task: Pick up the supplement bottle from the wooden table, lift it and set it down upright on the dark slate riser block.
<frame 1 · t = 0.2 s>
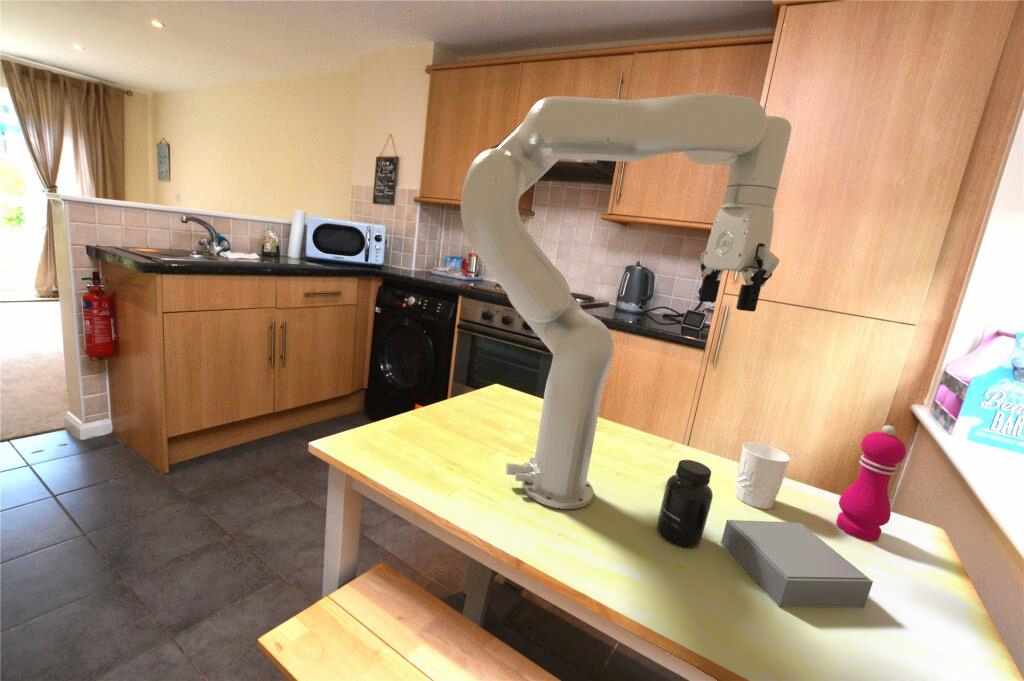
hand: (725, 305, 78), 36 cm above the table, tool pointing down, fingers open, 9 cm apart
supplement bottle: (678, 536, 73), on the table
pepper mill: (856, 531, 81), on the table
slate riser: (787, 572, 67), on the table
white cup: (753, 500, 88), on the table
blueberries: (670, 493, 87), on the table
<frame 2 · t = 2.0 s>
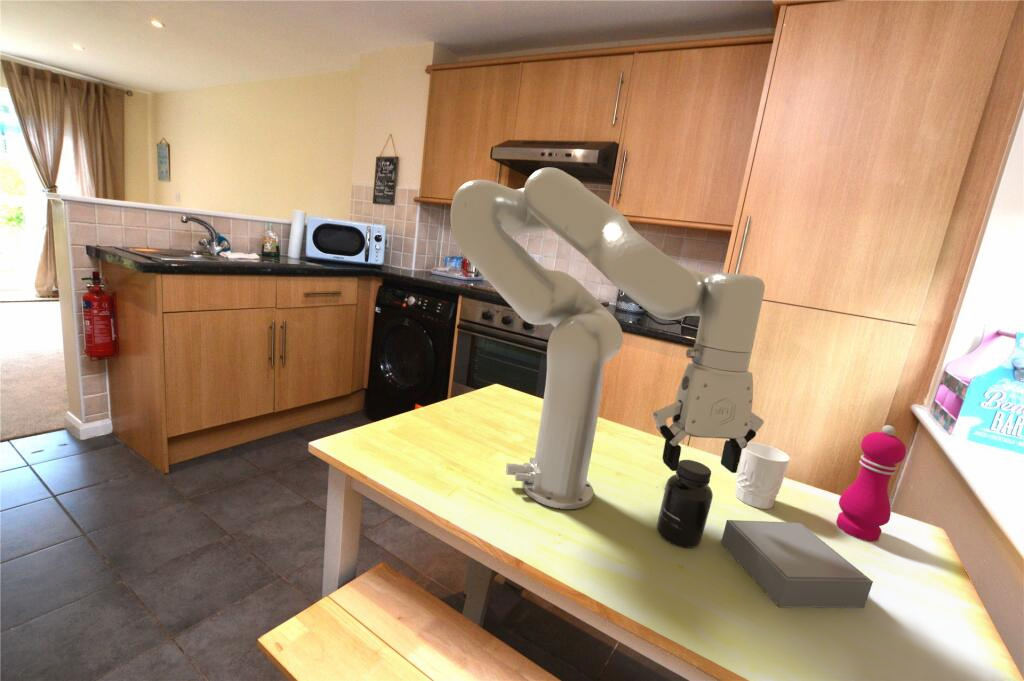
hand: (699, 467, 70), 12 cm above the table, tool pointing down, fingers open, 9 cm apart
nothing on the table moved.
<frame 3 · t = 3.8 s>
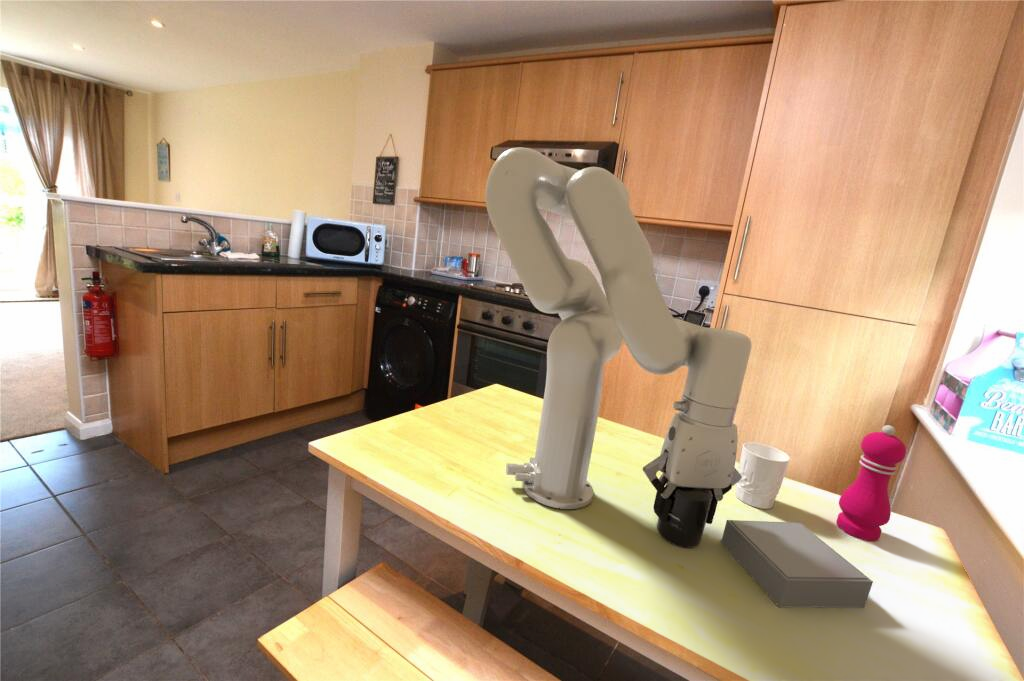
hand: (682, 517, 72), 3 cm above the table, tool pointing down, fingers closed on supplement bottle, 6 cm apart
supplement bottle: (678, 536, 73), on the table, touching gripper
everything else where it was.
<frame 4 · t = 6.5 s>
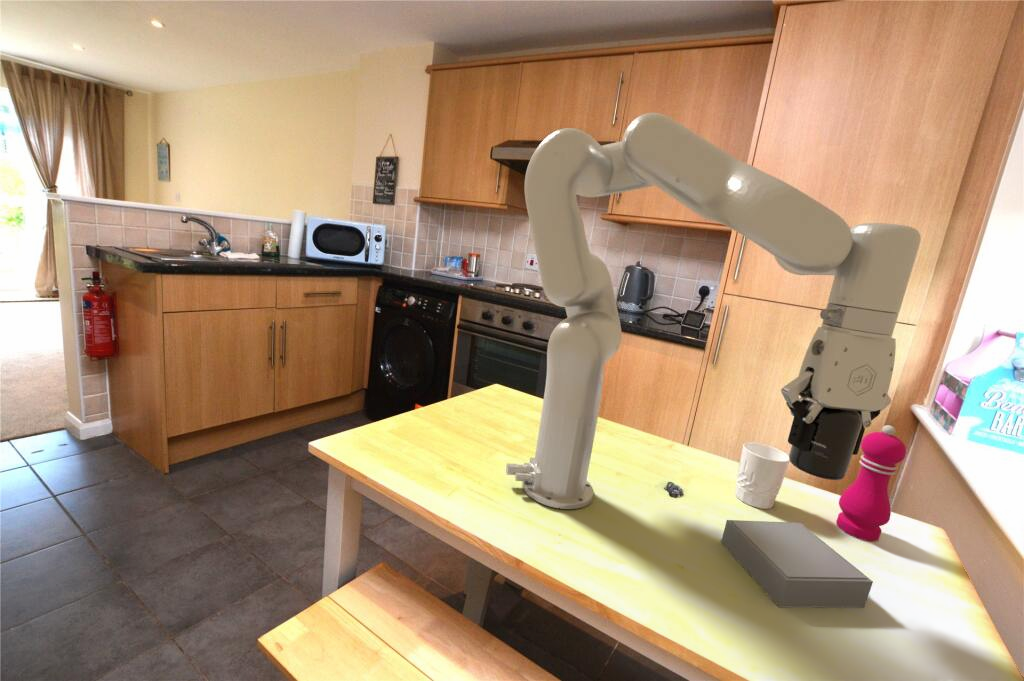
hand: (821, 447, 63), 20 cm above the table, tool pointing down, fingers closed on supplement bottle, 6 cm apart
supplement bottle: (815, 470, 64), point 16 cm above the table, touching gripper
everything else where it was.
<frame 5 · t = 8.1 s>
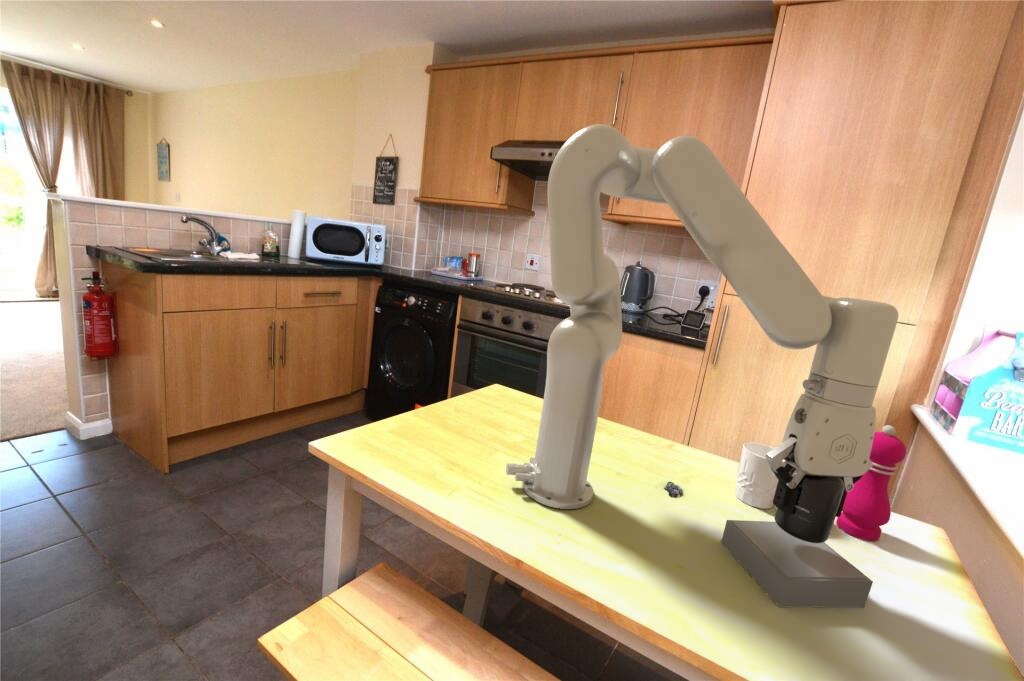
hand: (805, 509, 65), 10 cm above the table, tool pointing down, fingers closed on supplement bottle, 6 cm apart
supplement bottle: (799, 531, 66), point 7 cm above the table, touching gripper
everything else where it was.
when the fingers open (9 cm above the table, at t = 9.4 s): supplement bottle drops 1 cm, resting on slate riser.
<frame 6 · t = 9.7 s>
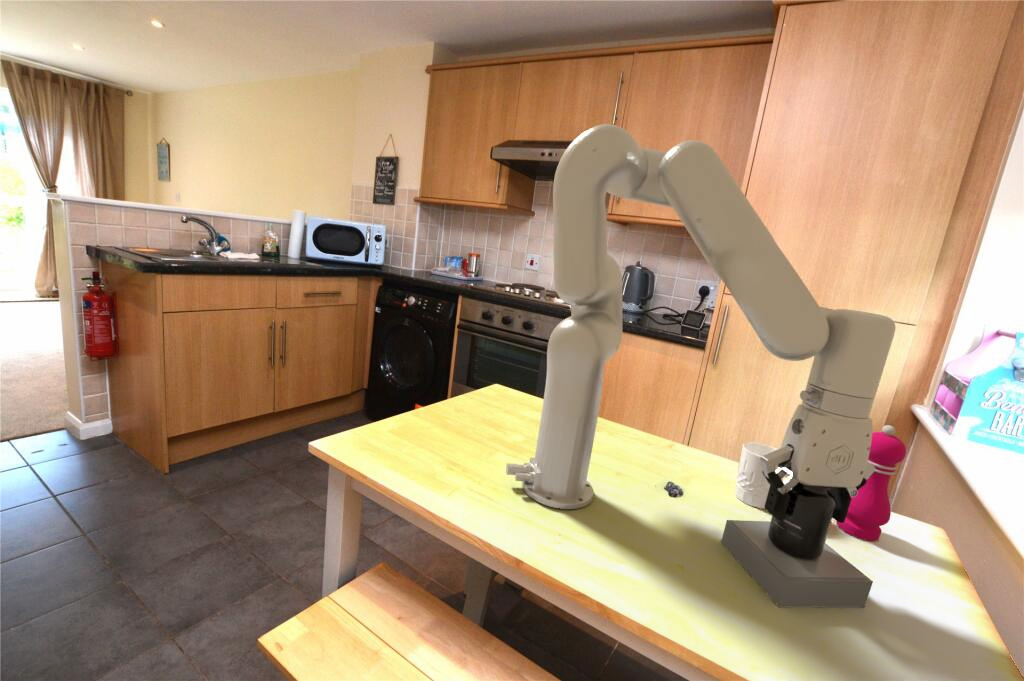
hand: (803, 515, 65), 9 cm above the table, tool pointing down, fingers open, 9 cm apart
supplement bottle: (793, 547, 66), point 4 cm above the table, touching slate riser
everything else where it was.
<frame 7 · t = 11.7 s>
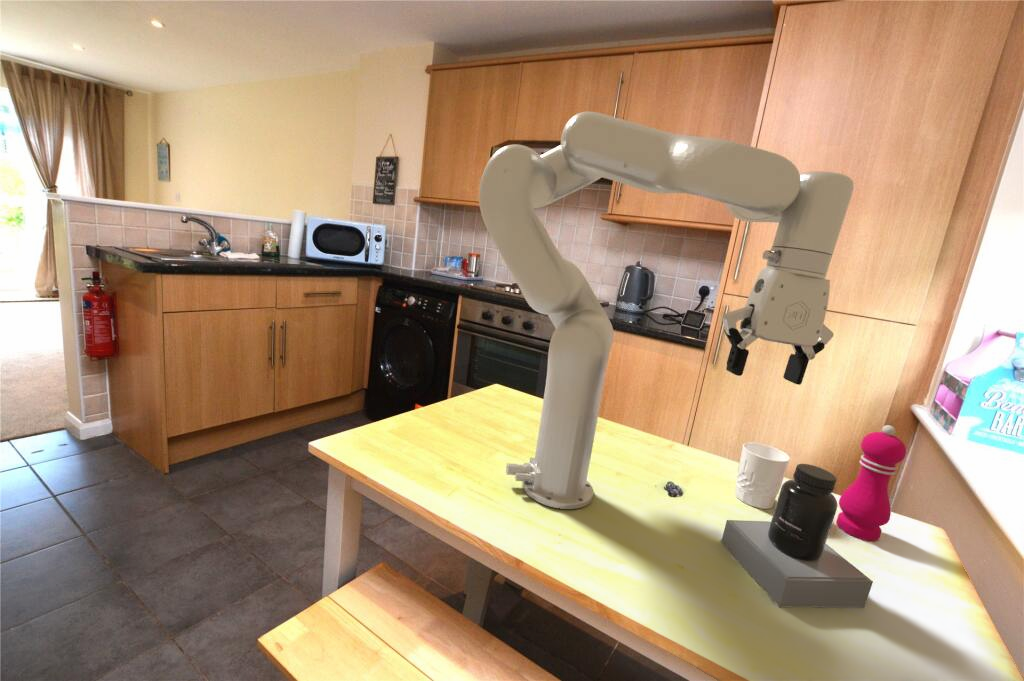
hand: (762, 377, 69), 27 cm above the table, tool pointing down, fingers open, 9 cm apart
nothing on the table moved.
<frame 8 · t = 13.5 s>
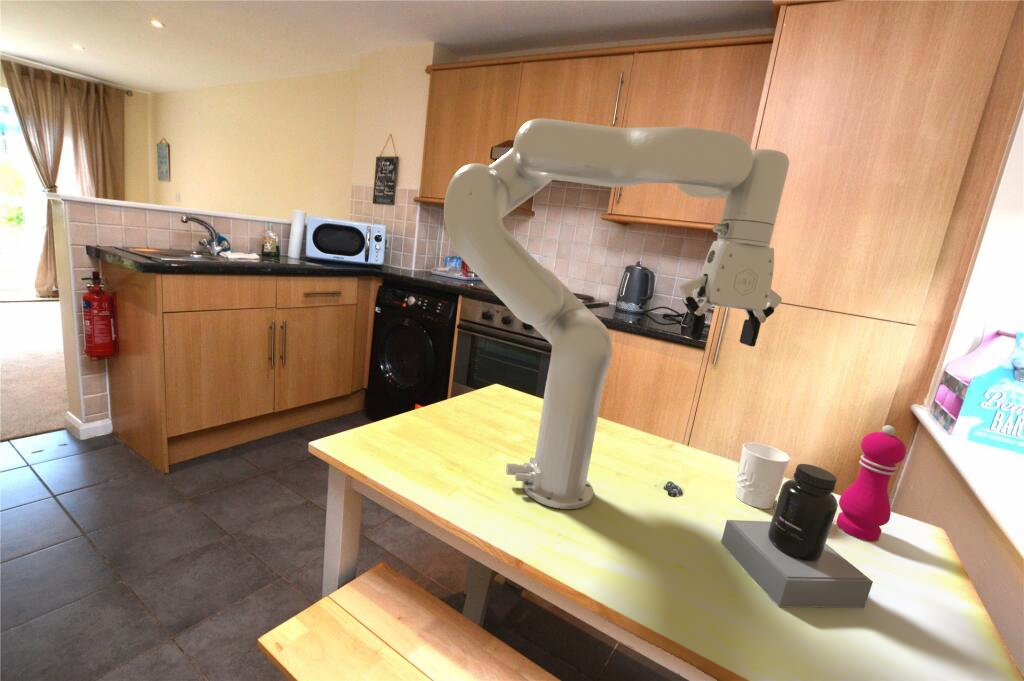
hand: (720, 341, 75), 30 cm above the table, tool pointing down, fingers open, 9 cm apart
nothing on the table moved.
at the end: supplement bottle inside the target area on the slate riser (0.1 cm from its centre), point 4.0 cm above the slate riser's base; supplement bottle tilted 0°; the gripper is holding nothing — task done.
